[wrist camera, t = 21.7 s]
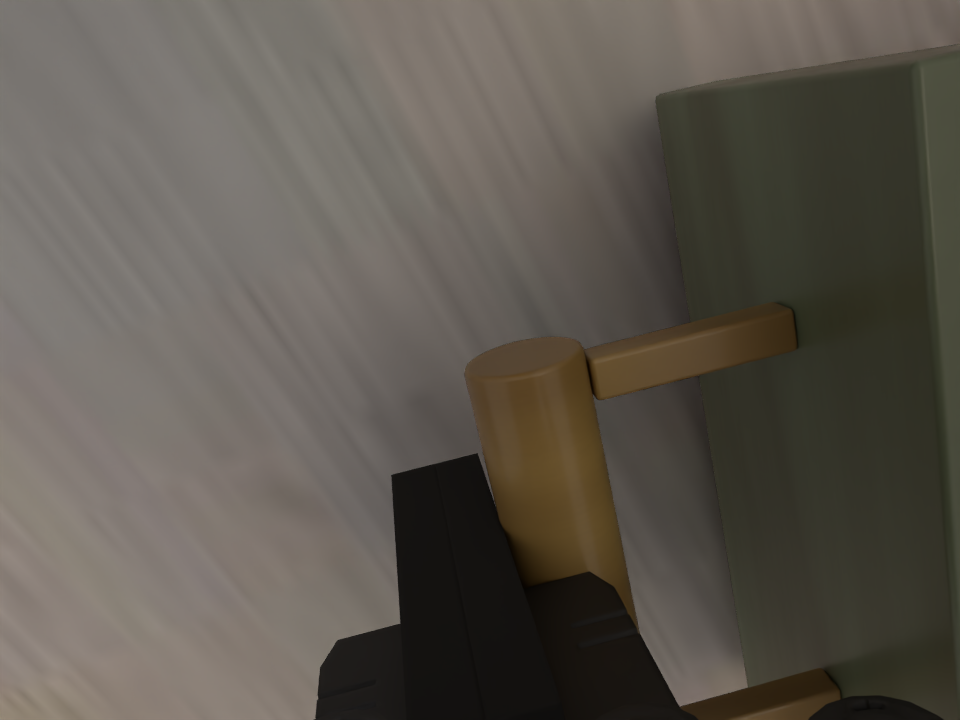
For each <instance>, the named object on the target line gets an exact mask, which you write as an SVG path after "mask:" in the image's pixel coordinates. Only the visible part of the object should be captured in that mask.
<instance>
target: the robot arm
mask: <svg viewBox="0 0 960 720" xmlns="http://www.w3.org/2000/svg"><path fill="white" fill-rule="evenodd" d="M391 477H392V493H393V509H394V525H395V542H396V558H397V574H398V590H399V606H400V623H401V624H397V625H394V626H390V627H386V628H382V629H378V630H375V631H371V632H367V633H363V634H359V635H355V636H352V637H348V638H344V639H340V640H337V642H336V643H335V645H334V647H333V648H332V650H331V651H330V653H329V654H328V656H327V658H326V659H325V661H324V662H323V664H322V665H321V667H320V675H319V685H318V700H317V707H316V717H315V718H316V719H315V720H698V719H697V718H696V716H694V715H692V714H690V713H688V712H686V711H684V710H682V709H681V708H680V707H679V705H678V704H677V702H676V700H675V698H674V696H673V694H672V692H671V691H670V689H669V687H668V685H667V683H666V681H665V679H664V678H663V676H662V674H661V672H660V670H659V668H658V666H657V665H656V663H655V661H654V659H653V657H652V655H651V654H650V652H649V650H648V648H647V646H646V644H645V642H644V641H643V639H642V637H641V635H640V633H639V634H638V631H637V628H636V626H635V624H634V622H633V620H632V618H631V616H630V615H629V614H628V612H627V609H626V607H625V605H624V603H623V602H622V600H621V598H620V596H619V594H618V592H617V591H616V589H615V587H614V586H612V585H611V584H609V583H607V582H606V581H604V580H603V579H601V578H599V577H598V576H596V575H595V574H593V573H591V572H590V571H589V572H585V573H581V574H578V575H574V576H570V577H566V578H562V579H558V580H555V581H551V582H547V583H543V584H539V585H536V586H532V587H528V588H524V589H523V587H522V584H521V581H520V578H519V575H518V572H517V569H516V566H515V563H514V560H513V557H512V554H511V551H510V548H509V545H508V542H507V539H506V536H505V533H504V530H503V527H502V524H501V523H500V521H499V517H498V513H497V510H496V507H495V504H494V501H493V498H492V495H491V492H490V489H489V486H488V483H487V480H486V477H485V474H484V471H483V468H482V465H481V462H480V459H479V456H478V453H477V454H473V455H469V456H465V457H461V458H457V459H453V460H449V461H445V462H441V463H437V464H433V465H429V466H425V467H421V468H417V469H413V470H409V471H405V472H401V473H397V474H393V475H391ZM809 720H944V719H942V718H941V717H939V716H938V715H936V714H934V713H932V712H930V711H928V710H926V709H924V708H922V707H920V706H918V705H916V704H914V703H912V702H909V701H905V700H900V699H895V698H891V697H886V696H882V695H871V696H850V697H847V698H844V699H840V700H837V701H834V702H831V703H828V704H826V705H825V706H823V707H822V708H821V709H820V710H818V711H817V712H816V713H814V714H813V715H812V716H811V717H809Z"/></svg>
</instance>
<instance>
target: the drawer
mask: <svg viewBox="0 0 960 720" xmlns="http://www.w3.org/2000/svg"><path fill="white" fill-rule="evenodd" d="M655 103H656V109H657V115H658V122H659V128H660V134H661V140H662V147H663V153H664V159H665V166H666V172H667V178H668V185H669V191H670V197H671V204H672V210H673V216H674V223H675V229H676V235H677V242H678V248H679V254H680V261H681V267H682V273H683V279H684V286H685V292H686V298H687V305H688V311H689V317H690V323H686V324H682V325H678V326H674V327H671V328H667V329H663V330H659V331H655V332H651V333H647V334H643V335H639V336H635V337H631V338H627V339H623V340H619V341H615V342H611V343H607V344H603V345H599V346H595V347H591V348H587V349H584V348H583V346H582V345H581V343H580V342H579V341H577V340H575V339H571V338H565V337H540V338H532V339H526V340H521V341H516V342H512V343H509V344H505V345H502V346H499V347H496V348H494V349H491V350H489V351H486V352H484V353H482V354H481V355H479V356H477V357H475V358H474V359H472V360H471V361H470V362H469V363H468V364H467V365H466V367H465V372H464V375H465V380H466V384H467V388H468V392H469V396H470V401H471V405H472V409H473V413H474V417H475V421H476V426H477V430H478V434H479V438H480V442H481V446H482V451H483V455H484V459H485V463H486V467H487V471H488V476H489V480H490V484H491V488H492V492H493V496H494V501H495V505H496V509H497V513H498V517H499V521H500V523H501V524H502V527H503V530H504V533H505V536H506V539H507V542H508V545H509V548H510V551H511V554H512V557H513V560H514V563H515V566H516V569H517V572H518V575H519V578H520V581H521V584H522V587H523V589H524V588H528V587H532V586H536V585H539V584H543V583H547V582H551V581H555V580H558V579H562V578H566V577H570V576H574V575H578V574H581V573H585V572H589V571H590V572H591V573H593V574H595V575H596V576H598V577H599V578H601V579H603V580H604V581H606V582H607V583H609V584H611V585H612V586H614V587H615V589H616V591H617V592H618V594H619V596H620V598H621V600H622V602H623V603H624V605H625V607H626V609H627V612H628V614H629V615H630V616H631V618H632V620H633V622H634V624H635V626H636V628H637V631H638V634H639V633H640V632H639V627H638V622H637V617H636V612H635V607H634V602H633V597H632V591H631V586H630V581H629V576H628V571H627V566H626V561H625V556H624V551H623V546H622V541H621V535H620V530H619V525H618V520H617V515H616V510H615V505H614V500H613V495H612V490H611V485H610V479H609V474H608V469H607V464H606V459H605V454H604V449H603V444H602V439H601V434H600V429H599V424H598V418H597V413H596V408H595V403H594V398H593V395H594V396H595V397H596V398H597V399H598V400H605V399H609V398H613V397H617V396H621V395H625V394H629V393H632V392H636V391H640V390H644V389H648V388H652V387H656V386H660V385H664V384H668V383H671V382H675V381H679V380H683V379H687V378H691V377H695V376H699V381H700V387H701V393H702V399H703V406H704V412H705V418H706V425H707V431H708V437H709V444H710V450H711V456H712V463H713V469H714V475H715V482H716V488H717V494H718V501H719V507H720V513H721V520H722V526H723V532H724V538H725V545H726V551H727V557H728V564H729V570H730V576H731V583H732V589H733V595H734V602H735V608H736V614H737V621H738V627H739V633H740V640H741V646H742V652H743V658H744V665H745V671H746V677H747V684H748V688H745V689H741V690H738V691H734V692H731V693H727V694H723V695H720V696H716V697H713V698H709V699H706V700H702V701H699V702H695V703H691V704H688V705H684V706H681V707H680V708H681V709H682V710H684V711H686V712H688V713H690V714H692V715H694V716H696V718H697V719H698V720H809V717H811V716H812V715H813V714H814V713H816V712H817V711H818V710H820V709H821V708H822V707H823V706H825V705H826V704H828V703H831V702H834V701H837V700H840V699H844V698H847V697H850V696H871V695H882V696H886V697H891V698H895V699H900V700H905V701H909V702H912V703H914V704H916V705H918V706H920V707H922V708H924V709H926V710H928V711H930V712H932V713H934V714H936V715H938V716H939V717H941V718H942V719H944V720H960V44H957V45H951V46H944V47H937V48H931V49H924V50H918V51H911V52H904V53H898V54H891V55H885V56H878V57H871V58H865V59H858V60H851V61H845V62H838V63H832V64H825V65H818V66H812V67H805V68H799V69H792V70H785V71H779V72H772V73H766V74H759V75H752V76H746V77H739V78H732V79H726V80H719V81H714V82H710V83H705V84H701V85H697V86H693V87H688V88H684V89H680V90H676V91H671V92H667V93H663V94H659V95H658V96H657V97H656V100H655Z"/></svg>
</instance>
